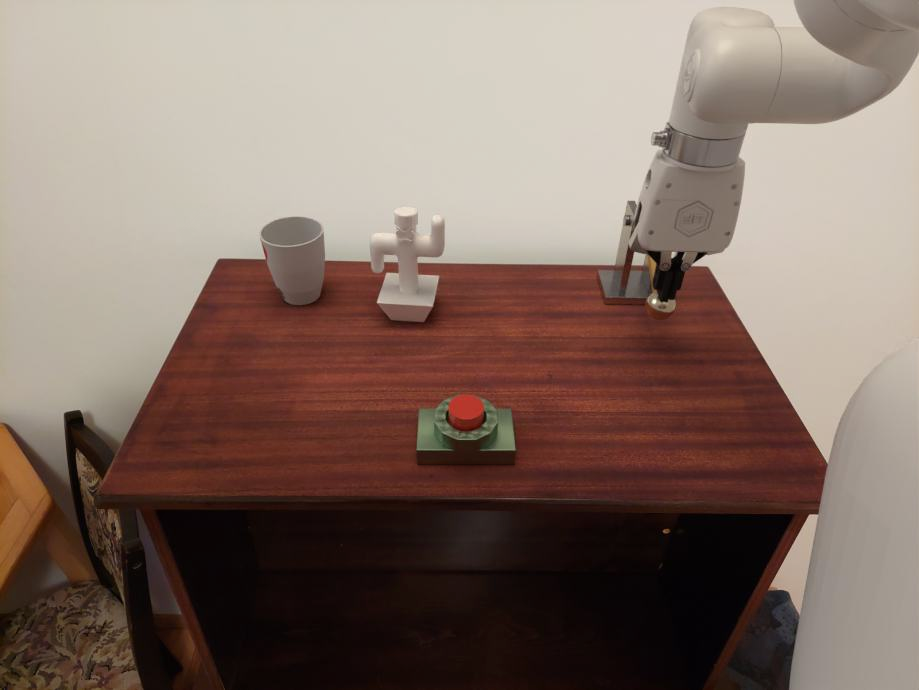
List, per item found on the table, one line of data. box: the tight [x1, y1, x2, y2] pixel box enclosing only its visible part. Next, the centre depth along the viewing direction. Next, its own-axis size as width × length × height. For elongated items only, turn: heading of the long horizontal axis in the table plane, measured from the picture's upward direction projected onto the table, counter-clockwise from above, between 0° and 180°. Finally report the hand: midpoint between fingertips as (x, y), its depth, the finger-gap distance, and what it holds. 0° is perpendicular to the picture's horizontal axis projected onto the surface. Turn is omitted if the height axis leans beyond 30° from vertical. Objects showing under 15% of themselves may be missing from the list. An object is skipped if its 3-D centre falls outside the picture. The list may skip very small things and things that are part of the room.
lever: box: [644, 254, 677, 321], centre depth 82 cm, size 16×4×4 cm, turn 0°
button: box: [448, 394, 484, 431], centre depth 65 cm, size 4×4×2 cm
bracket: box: [596, 200, 653, 306], centre depth 88 cm, size 7×9×13 cm
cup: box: [258, 215, 326, 306], centre depth 86 cm, size 8×8×10 cm
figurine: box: [369, 206, 446, 323], centre depth 82 cm, size 7×9×15 cm
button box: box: [415, 394, 517, 465], centre depth 67 cm, size 10×6×4 cm, turn 91°
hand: (664, 293), depth 77 cm, fingers closed
